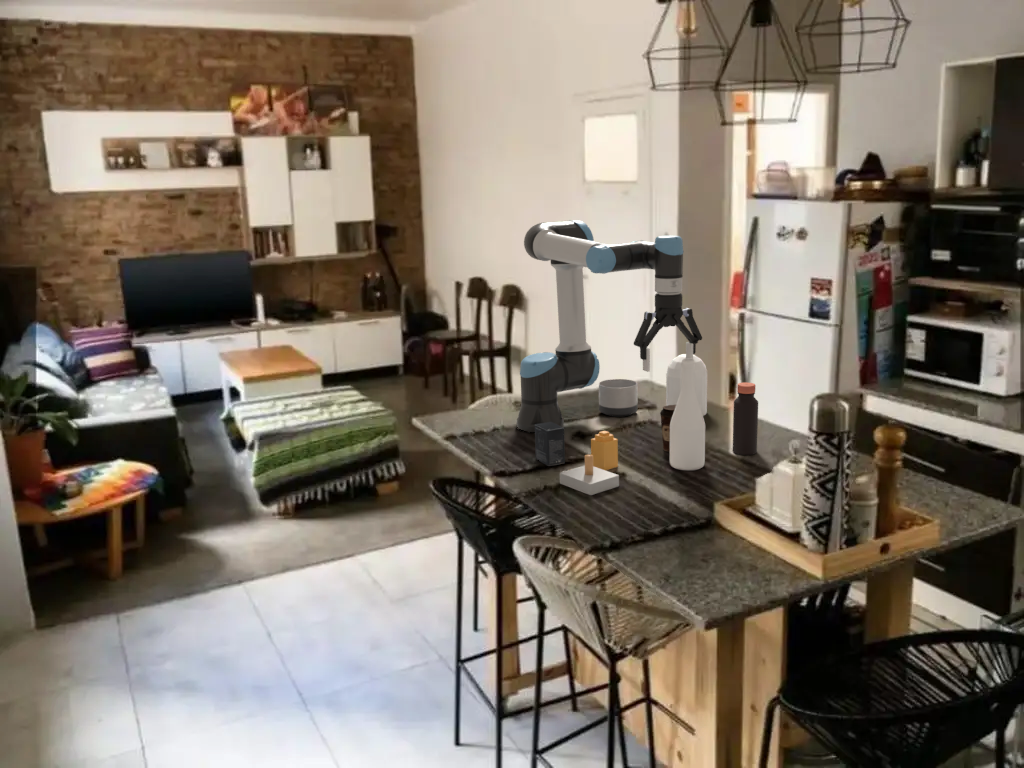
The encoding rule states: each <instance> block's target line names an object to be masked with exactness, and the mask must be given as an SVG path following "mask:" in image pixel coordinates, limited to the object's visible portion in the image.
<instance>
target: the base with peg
mask: <svg viewBox="0 0 1024 768" xmlns="http://www.w3.org/2000/svg"><path fill="white" fill-rule="evenodd" d="M559 484H560V485H563V486H566V487H568V488H570V489H574V490H576V491H579V492H581V493H584V494H586V495H588V496H593V495H595V494H599V493H602V492H606V491H608V490H611V489H615V488H618V487H619V486H620V475H619V474H616V473H613V472H611V471H609V470H606V471H605V470H603V469H600V468H597V467H594V466H593V455H591V453H590V454H585V455H584V464H583V465H581V466H578V467H574V468H568V469H565V470H563V471H561V472H559Z"/></svg>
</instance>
